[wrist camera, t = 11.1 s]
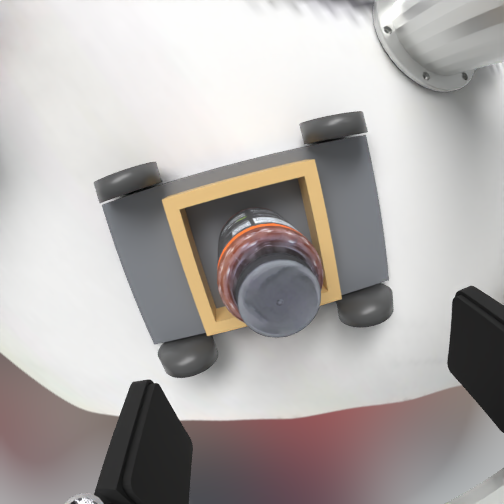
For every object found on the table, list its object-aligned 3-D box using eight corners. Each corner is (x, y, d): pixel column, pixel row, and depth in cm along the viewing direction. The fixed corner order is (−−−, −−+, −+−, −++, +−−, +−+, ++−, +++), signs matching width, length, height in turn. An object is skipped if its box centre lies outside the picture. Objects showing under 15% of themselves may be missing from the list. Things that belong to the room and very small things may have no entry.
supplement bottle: (269, 290, 27) (298, 372, 16) (204, 258, 26) (192, 329, 15) (306, 227, 26) (363, 275, 15) (240, 191, 24) (253, 215, 13)
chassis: (353, 116, 25) (379, 108, 20) (383, 291, 29) (408, 312, 25) (102, 182, 25) (77, 187, 20) (164, 351, 29) (155, 383, 24)
